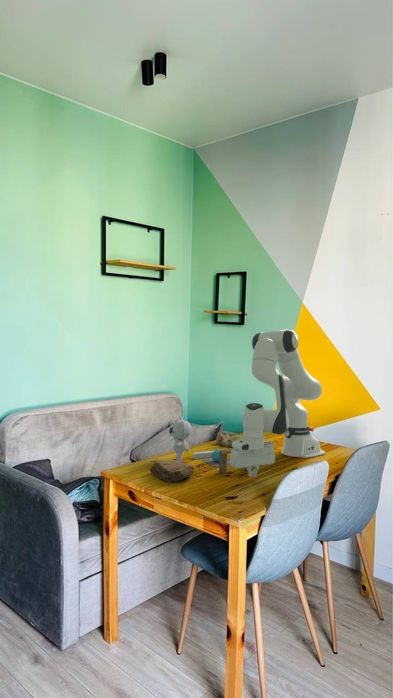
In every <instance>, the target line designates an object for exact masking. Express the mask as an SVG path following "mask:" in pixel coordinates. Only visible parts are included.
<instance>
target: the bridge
mask: <svg viewBox="0 0 393 698" xmlns="http://www.w3.org/2000/svg"><path fill="white" fill-rule="evenodd" d="M232 449H233V448H227V449H220V453H219V466H218V468H219V469H218V472H219V473H220V474H222V475H225V474H227V472H228V471H227V469H228V468H227V466H228V465H227V459H228V455H230V454H231V450H232ZM244 470H246V471H248V470H247V469H246V467H244ZM251 471H253V468H252V469H251Z"/></svg>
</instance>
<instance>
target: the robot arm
mask: <svg viewBox="0 0 393 698" xmlns="http://www.w3.org/2000/svg"><path fill="white" fill-rule="evenodd" d="M298 346H299V336H298V334H297V333H296V332H295V331H294V330H292V329H274V330H269V331H261V332H257V333H256V334H254V336H253V337H252V340H251V347H252V350H253V354H252V359H251V374H252V375H253V377H254V379H256V380H257V381H258V382H261V383H262V384H264V385H265V386H266V385H267V386H269V387H270V388H272V389H273V390H274V392H275V403H276V409H264V405H263V404H262V403H256V402H252V403H248V404H246V405H245V406H244V410H243V419H242V420H243V421H242V426H243V427H242V428H243V433H242V438H241V439H239V440H237V441H235V442H233V443H232V446H231V447H232V448H231V449H232V450H231V454H229V460H230V465H229V466H230V467H232V468H234V469H241V468H245V467H246V469H247V470H246V469H245V470H246V471H247V473H248V475H247V476H248V477H250V478H255V477H257V476H258V475H257V473H258V471H259V469H260V466H265V465H266V466H267V465H274V464H275V462H276V453H275V444H274V442H272V441H265V433H269V434H274V435H280V436H281V435H283V434H284V438H283V444H282V448H281V452H280V453H281V454H282V455H285V456H288V457H293V458H295V457H296V458H304V459H309V458H313V457H318V455H319V456H322V454H323V455H325V454H326V452H325V450H323V449H321V443H320V441H319V440H318V439H317V438H316V437H315V436H313V435H312V434H311V432H314V431H315V428H314V427H313V426H308V424H309V423H308V418H309V414H308V413H309V412H308V410H307V409H306V408H305V407H304V406H303V405H302V404H301V401H300V400H302V401H315V400H316V401H317V400H318V399H319V398H320V397H321V395H322V393H323V392H322V391H323V387H322V385H321V382H320V381H319V380H317V379H315V378H314V377H313V376H312V375H311V374H309V372H308V371H307V369H306V368H305V367H304V365H303V361H302V359H301V357H300V352H299V351H298ZM277 367H278V368H279V370H278V368H277ZM279 371H280V372H281V373H279ZM253 467H254V468H253ZM251 469H252V470H251Z"/></svg>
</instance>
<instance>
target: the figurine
mask: <svg viewBox="0 0 393 698" xmlns="http://www.w3.org/2000/svg"><path fill="white" fill-rule="evenodd" d="M241 438H243V436H242V435H232V436H231V437H230V435H229V433H227V434H223V433H222V431H218V432H217V434H216V442H217V443H218V444H219V445H222V446H223V447H225V448H229V447H232V443H233V442H235V441H237V440H239V439H241Z"/></svg>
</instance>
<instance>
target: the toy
mask: <svg viewBox="0 0 393 698" xmlns="http://www.w3.org/2000/svg"><path fill="white" fill-rule="evenodd" d="M191 433H192V425H191V424H190V422H189V421H187V420H184V417H183V416H180V417H179V420H176V421H175V422H174V423H173V424H172V426H171V427H170V428H169V435H170V436H171V437H173V438H172V440H173V441H174V443H173V446H172V450H173V451H174V452H176V455H175V460H176V461H180V462H183V453H184V452H187V453H188V452H189V451H190V447H188V446H187V445H188V444H187V442H186V439H187V438H188V437H189V436H190V435H191Z"/></svg>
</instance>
